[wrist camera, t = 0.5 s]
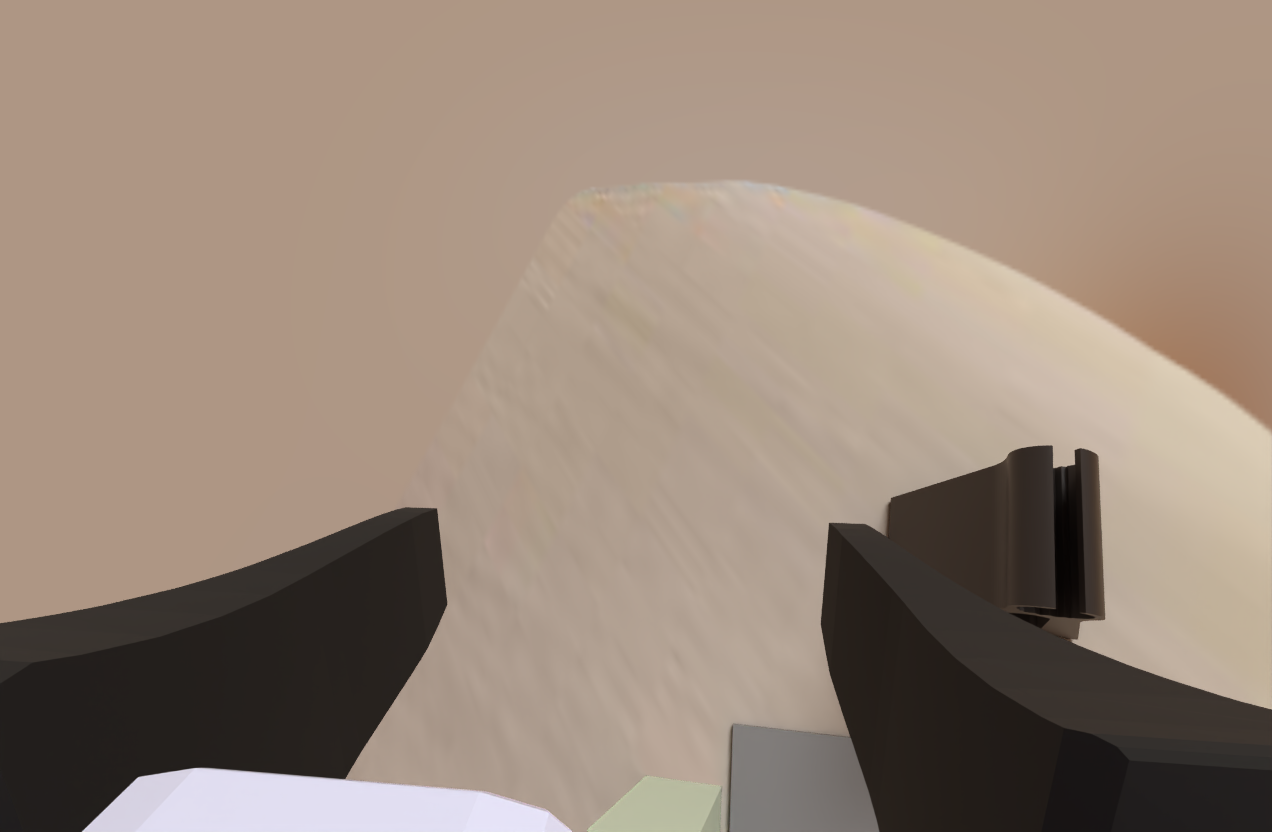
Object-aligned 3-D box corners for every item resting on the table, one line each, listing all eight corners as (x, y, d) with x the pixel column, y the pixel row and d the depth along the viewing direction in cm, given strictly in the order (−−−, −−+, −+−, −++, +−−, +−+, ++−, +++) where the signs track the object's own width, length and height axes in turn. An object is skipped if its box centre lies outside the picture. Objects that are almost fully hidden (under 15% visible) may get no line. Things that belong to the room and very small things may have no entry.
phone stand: (882, 607, 34) (929, 588, 23) (890, 498, 36) (936, 432, 25) (1074, 640, 32) (1226, 636, 21) (1071, 522, 34) (1210, 460, 23)
